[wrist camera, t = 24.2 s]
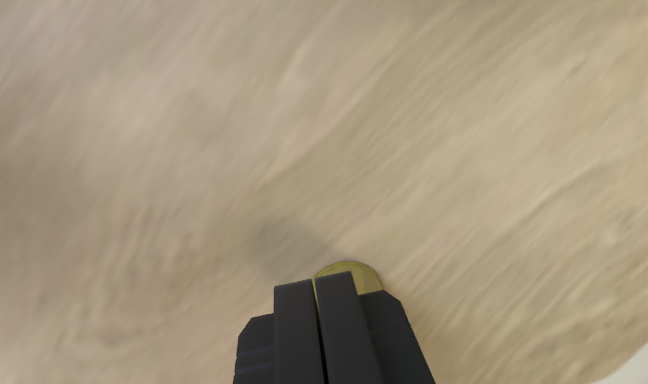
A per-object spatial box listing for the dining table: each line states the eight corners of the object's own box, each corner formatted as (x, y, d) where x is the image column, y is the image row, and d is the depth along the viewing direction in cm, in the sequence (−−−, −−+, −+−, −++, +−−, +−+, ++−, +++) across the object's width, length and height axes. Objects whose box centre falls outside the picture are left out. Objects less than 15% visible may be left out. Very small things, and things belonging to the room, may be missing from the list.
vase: (348, 245, 41) (380, 359, 27) (399, 294, 43) (453, 425, 29) (291, 295, 42) (295, 428, 28) (343, 341, 44) (370, 487, 30)
